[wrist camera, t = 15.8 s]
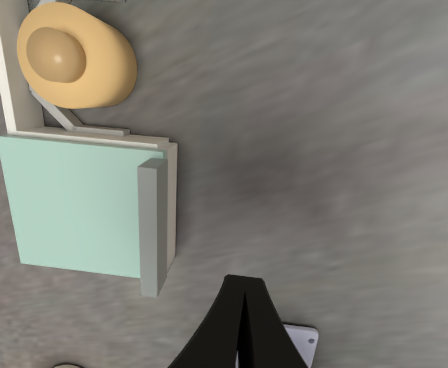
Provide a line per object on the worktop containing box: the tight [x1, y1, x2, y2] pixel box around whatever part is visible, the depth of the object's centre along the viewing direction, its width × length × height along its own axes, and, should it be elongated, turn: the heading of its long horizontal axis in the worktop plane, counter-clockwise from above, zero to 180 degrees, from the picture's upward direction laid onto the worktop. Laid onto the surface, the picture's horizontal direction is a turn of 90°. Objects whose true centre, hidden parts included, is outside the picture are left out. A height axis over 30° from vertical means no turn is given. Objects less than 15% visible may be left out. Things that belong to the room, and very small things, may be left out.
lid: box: [0, 135, 168, 298], centre depth 16 cm, size 9×10×3 cm
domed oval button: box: [17, 2, 137, 109], centre depth 15 cm, size 5×5×4 cm
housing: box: [0, 0, 177, 273], centre depth 18 cm, size 18×10×2 cm, turn 176°
